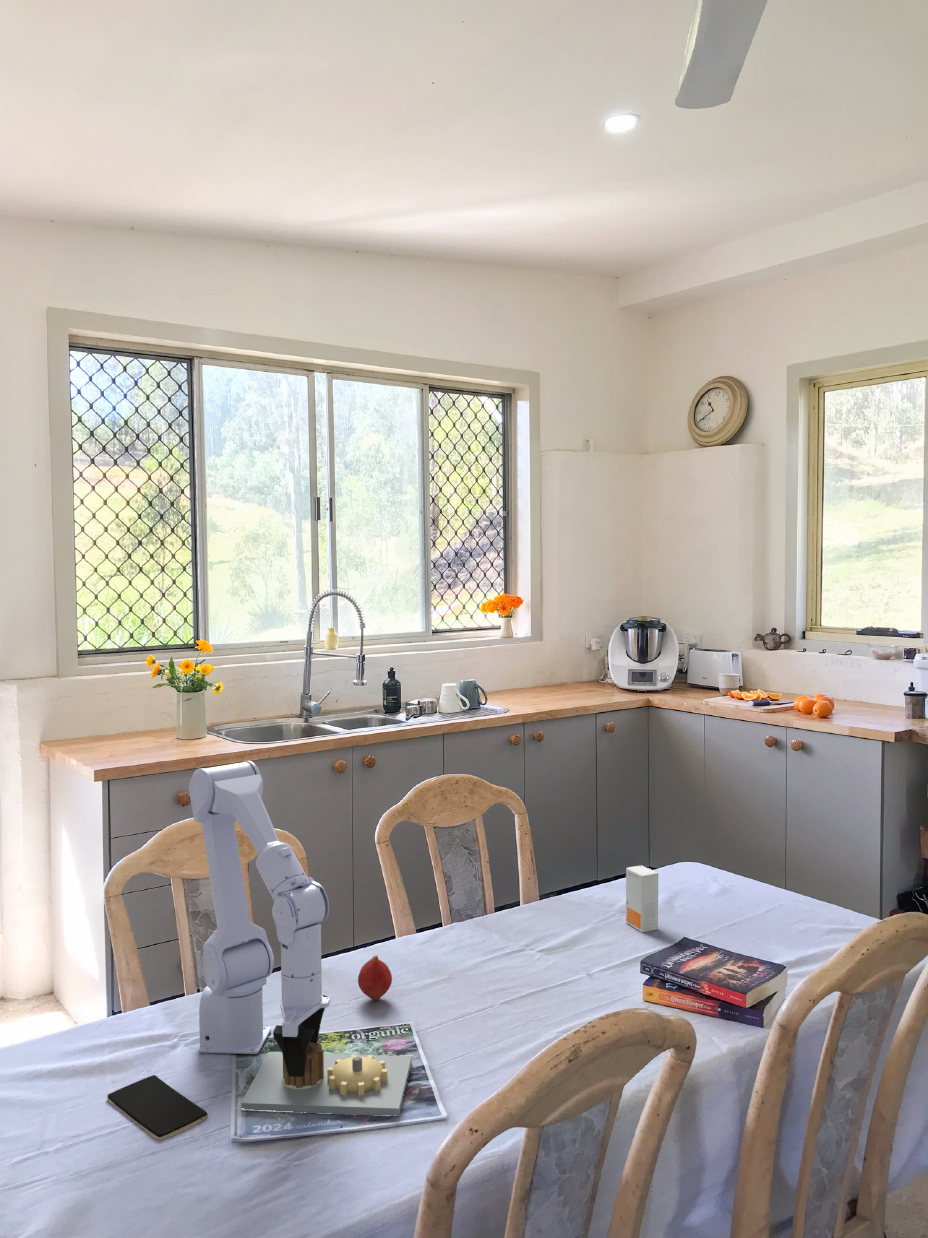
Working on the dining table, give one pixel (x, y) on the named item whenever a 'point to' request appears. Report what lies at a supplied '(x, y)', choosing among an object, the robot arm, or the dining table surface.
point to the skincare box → (642, 898)
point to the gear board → (334, 1086)
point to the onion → (374, 978)
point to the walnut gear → (308, 1068)
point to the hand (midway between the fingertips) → (302, 1061)
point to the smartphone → (157, 1107)
